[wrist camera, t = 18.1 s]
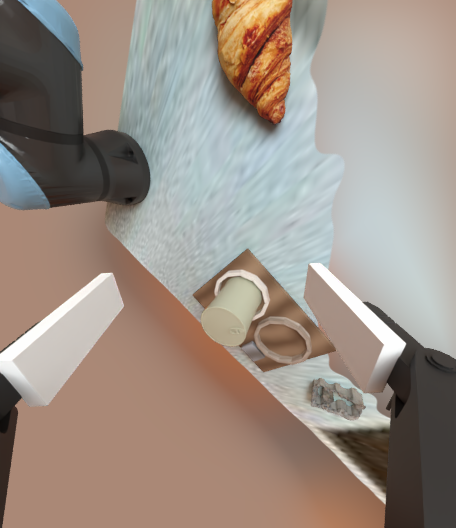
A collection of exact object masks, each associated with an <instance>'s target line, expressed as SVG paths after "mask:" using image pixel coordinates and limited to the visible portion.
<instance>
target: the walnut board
mask: <svg viewBox="0 0 456 528" xmlns="http://www.w3.org/2000/svg"><path fill="white" fill-rule="evenodd" d="M231 270H245V271H247V272H250V273H252V274H254V275H256V276H258V278H259V279H260V280H261V281H262V282H263V283H264V284H265V285H266V287H267V289H268V294H269V298H270V302H269V304H268V307H267V309H266V311H265V313H264V315H263V316H261V317H259V318H257V319H255V320H253V321H252V322H251V325H250V327H249V329H248V332H247V334H246V338H245V340H244V342H243V343H242V344H240V345H239V346H240V347H241V349H242V350H243V351H244V352H245V353H246V354H247V355H248V356H249V357H250V358H251V360H252V361H253V362H255V363H256V365H257V366H258V367H259V368H260V369H261V370H262V371H263V372H266V371H269V370H273V369H276V368H280V367H283V366H286V365H290V364H292V365H293V364H297V363H300V362H304V361H305V360H307V359H310V358H313V357H317V356H320V355H324V354H327V353H330V352H334V351H336V348H335V347H334V345H333V344H332V343H331V342H330V340H329V339H328V338H327V337H326V336H325V335H324V334H323V333H322V331H321V330H320V329H319V328H318V327H317V326H316V325H315V324H314V322H313V321H312V320H311V319H310V318H309V317H308V316H307V315H306V313H305V312H304V311H303V310H302V309H301V308H300V307H299V306H298V304H297V303H296V302H295V301H294V300H293V299H292V298H291V297H290V295H289V294H288V293H287V292H286V291H285V290H284V289H283V288H282V286H281V285H280V284H279V283H278V282H277V281H276V280H275V279H274V277H273V276H272V275H271V274H270V273H269V272H268V271H267V270H266V268H265V267H264V266H263V265H262V264H261V263H260V262H259V261H258V259H257V258H256V257H255V256H254V255H253V254H252V253H251V251H250V250H249V249H246V250H245V251H244V252H243V253H242V254H240V255H239V256H238V257H237V258H236V259H234V260H233V261H232V262H231V263H230V264H229V265H227V266H226V267H225V268H224V269H223V270H221V271H220V272H219V273H218V274H217V275H215V276H214V277H213V278H212V279H211V280H209V281H208V282H207V283H206V284H205V285H204V286H202V287H201V288H200V289H199V290H198V291H196V292H195V293H194V294H193V296H194V297H195V298H196V299H197V300H198V302H199V303H200V304H201V305H202V306H203V307H204V308H206V307H207V306H208V305H210V303H211V302H212V301H213V300H214V299H215V297H216V296H215V293H214V291H215V287H216V283H217V280H218V279H219V278H220V277H222V276H223V275H224V274H225V273H226V272H228V271H231ZM234 277H241V276H231V277H227V278H226V279H224V280H223V281H222V284H221V288H220V291H221V290H222V289H223V287H224V286H225V284H226V282H227V281H228V280H229V279H231V278H234ZM260 291H261V290H260ZM261 295H262V300H261V303H260V305H259V306H258V308H257V311H256V312H258V311H259V310H261V309H262V308H263V306H264V304H265V303H264V298H263V294H262V291H261Z"/></svg>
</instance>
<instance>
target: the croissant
mask: <svg viewBox="0 0 456 528" xmlns="http://www.w3.org/2000/svg"><path fill="white" fill-rule="evenodd" d="M291 8H292V0H213V2H212V10H213V11H212V14H213V18H214V20H215V25H216V27H217V30H218V35H217V38H218V57H219V62H220V64H221V67H222V69H223V70H224V72H225V74H226V76H227V78H228V80H229V81H230V82H231V84H232V85H233V86H234V87H235V88H236V89H237V90H238V91H239V92H240V93H241V94H242V95H243V96H244V98H245V99H246V100H247V101H248V102H249V103H250V104H251V105H253V106H254V107H255V108H257V110H258V114H259V115H260V117H262V118H264V119H266V120H268V121H270V122H271V123H272V124H273V125H275V124H277V123H280V122H281V119H282V118H283V117H284V114H285V100H284V98H285V97H286V94H287V92H288V89H289V86H290V65H291V63H290V59H289V55H290V54H291V52H292V34H291V28H290V12H291Z"/></svg>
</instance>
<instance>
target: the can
mask: <svg viewBox="0 0 456 528" xmlns="http://www.w3.org/2000/svg"><path fill="white" fill-rule="evenodd" d="M261 300H262V295H261V291H260V289H259V288H258V287H257V286H256V284H255V283H254V282H253V281H251V280H248V279H246V278H244V277H234V278H231V279H229V280H228V281H227V282H226V284H225V286H224V287H223V289H222V290H221V291H220V292H219V294H218V295H217V296H216V297H215V299H214V300H213V301H212V302H211V303H210V305H209V306H208V307H207V308H206V309H205V310H204V311H203V313H202V315H201V324H202V327H203V329H204V331H205V332H206V334H207V335H208V336H209V337H210V338H211V339H213V340H214V341H215V342H217V343H219V344H221V345H224V346H229V347H233V346H238V345H240V344H242V343H243V342H244V340H245V338H246V334H247V332H248V329H249V327H250V325H251V322H252V320H253V317H254V315H255V313H256V311H257V308H258V306H259V305H260V303H261Z"/></svg>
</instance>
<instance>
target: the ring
mask: <svg viewBox="0 0 456 528" xmlns="http://www.w3.org/2000/svg"><path fill="white" fill-rule="evenodd" d="M231 276H241V277H244V278H246V279H248V280H251V281H253V282H254V283H255V284H256V286H257V287H258V288H259V289H260V290H261V291H262V294H263V298H264V303H265V304H264V306H263V308H262V309H261V310H259V311H258V312H256V313H255V315H254V317H253V320H255V319H257V318H259V317H261V316H263V315H264V313H265V311H266V309H267V307H268V304H269V302H270V298H269V294H268V289H267V287H266V285H265V284H264V283H263V282H262V281H261V280H260V279H259V278H258V276H256V275H254V274H252V273H250V272H247V271H245V270H231V271H228V272H226V273H225V274H224V275H223V276H222V277H220V278H219V279H218V280H217V283H216V287H215V291H214V293H215V296H217V295H218V294H219V292H220V288H221V284H222V281H223V280H224V279H226V278H227V277H231ZM208 306H209V305H208ZM208 306H207V307H208ZM207 307H206V308H207ZM206 308H205V309H206ZM253 320H252V321H253Z"/></svg>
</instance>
